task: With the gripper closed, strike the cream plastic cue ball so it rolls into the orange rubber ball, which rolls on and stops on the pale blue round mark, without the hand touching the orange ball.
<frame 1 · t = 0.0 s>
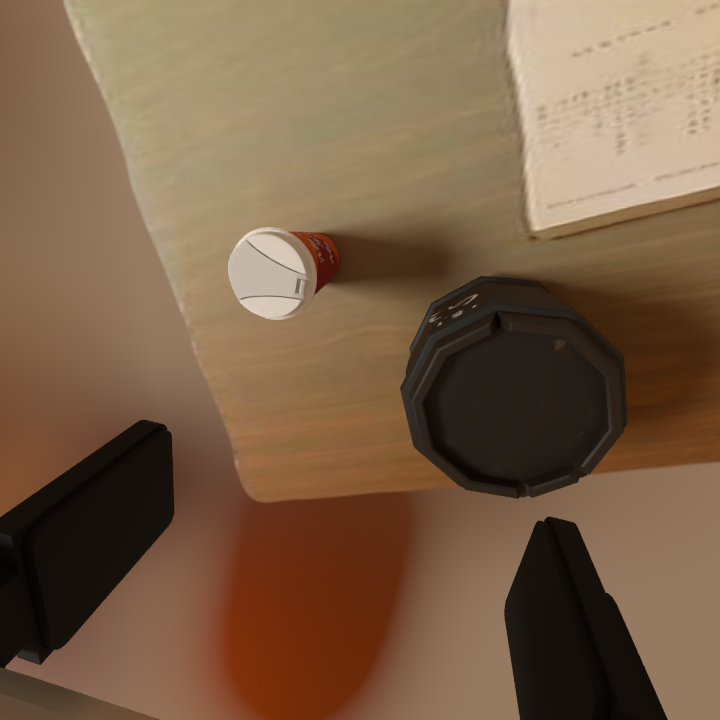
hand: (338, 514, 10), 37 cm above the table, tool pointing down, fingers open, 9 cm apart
paper cup: (316, 258, 46), on the table
dark grey barrel: (494, 352, 46), on the table
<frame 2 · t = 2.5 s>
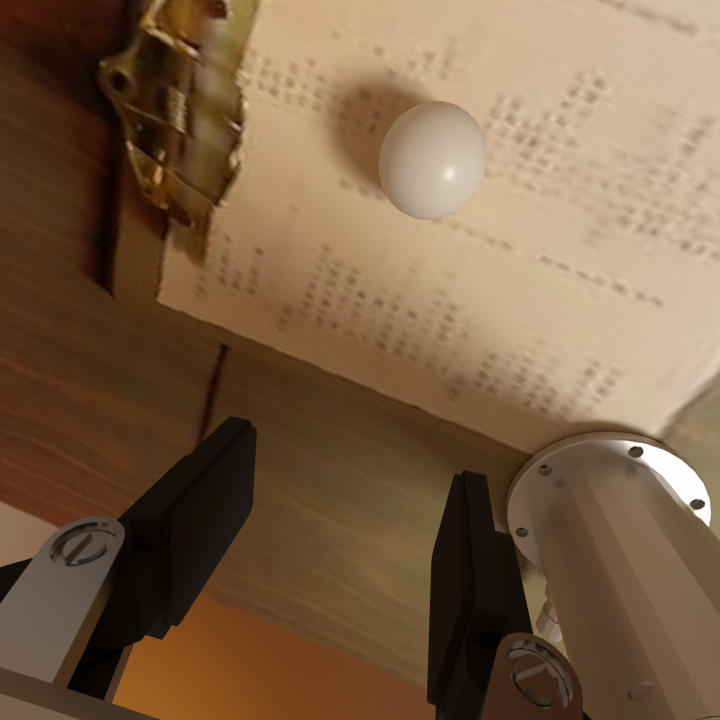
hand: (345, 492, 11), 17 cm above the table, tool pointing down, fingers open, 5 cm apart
cue ball: (431, 163, 21), on the table
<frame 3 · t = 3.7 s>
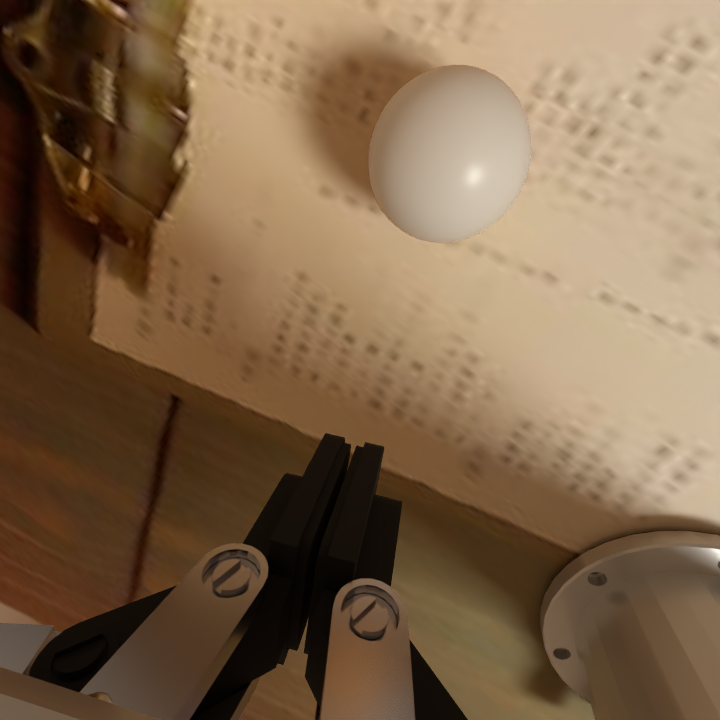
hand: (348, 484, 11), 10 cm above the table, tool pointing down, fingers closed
cue ball: (446, 161, 14), on the table
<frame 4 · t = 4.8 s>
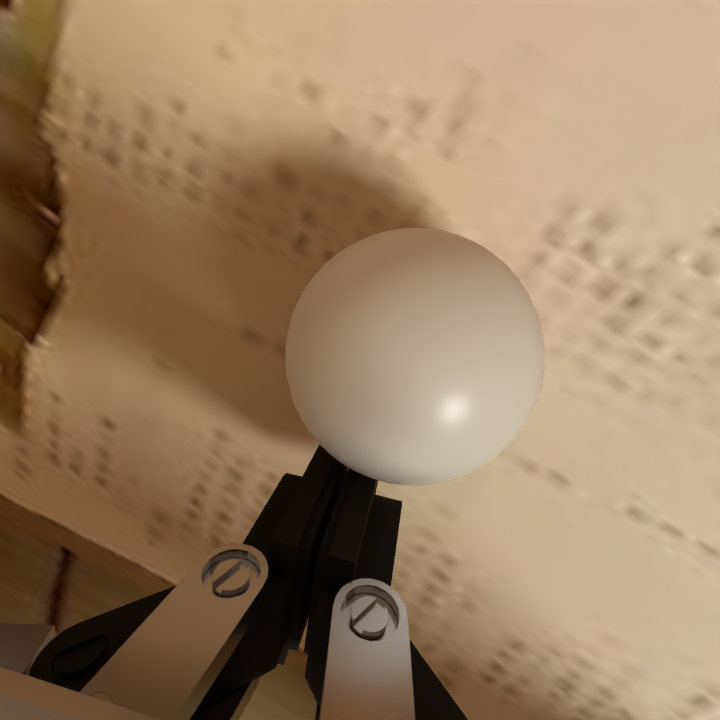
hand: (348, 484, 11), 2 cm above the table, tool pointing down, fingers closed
cue ball: (409, 356, 9), on the table, touching gripper
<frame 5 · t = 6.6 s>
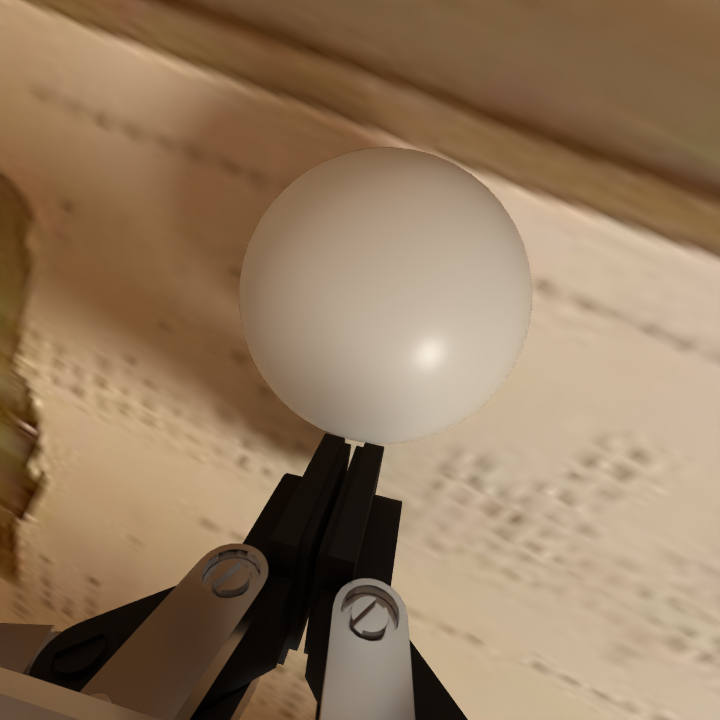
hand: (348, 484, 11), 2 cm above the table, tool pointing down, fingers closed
cue ball: (382, 302, 8), on the table
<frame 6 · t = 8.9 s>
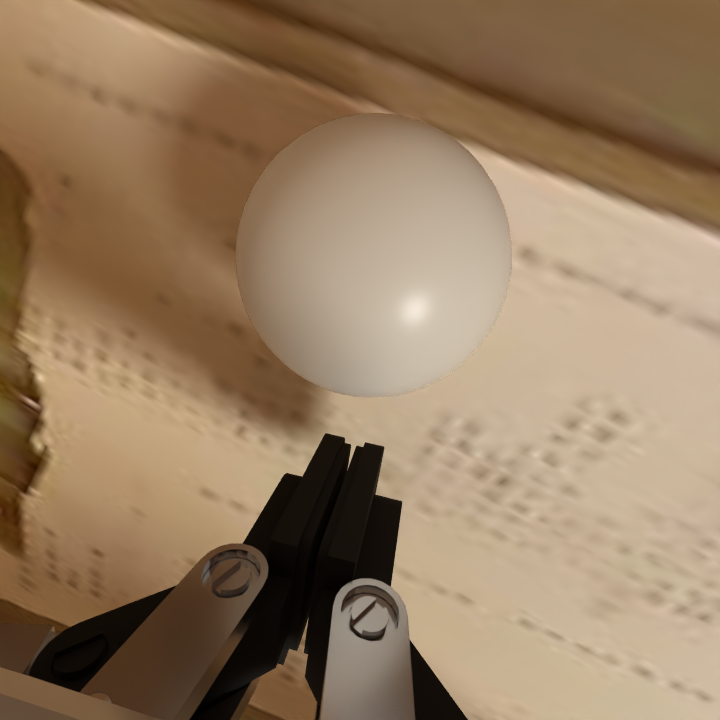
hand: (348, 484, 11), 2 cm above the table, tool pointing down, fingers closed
cue ball: (372, 266, 9), on the table
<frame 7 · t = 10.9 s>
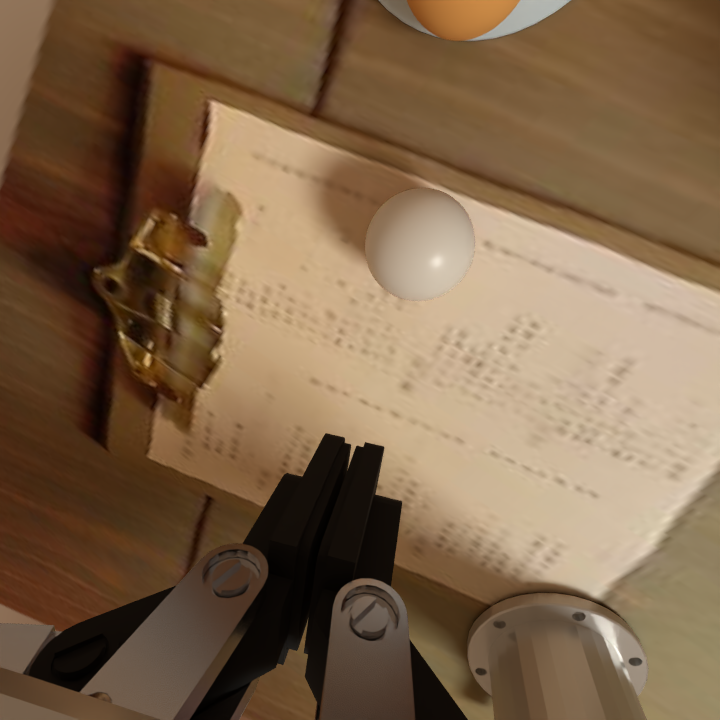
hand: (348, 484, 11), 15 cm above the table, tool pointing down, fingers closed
cue ball: (419, 246, 21), on the table
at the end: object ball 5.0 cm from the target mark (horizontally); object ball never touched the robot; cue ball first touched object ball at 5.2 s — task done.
